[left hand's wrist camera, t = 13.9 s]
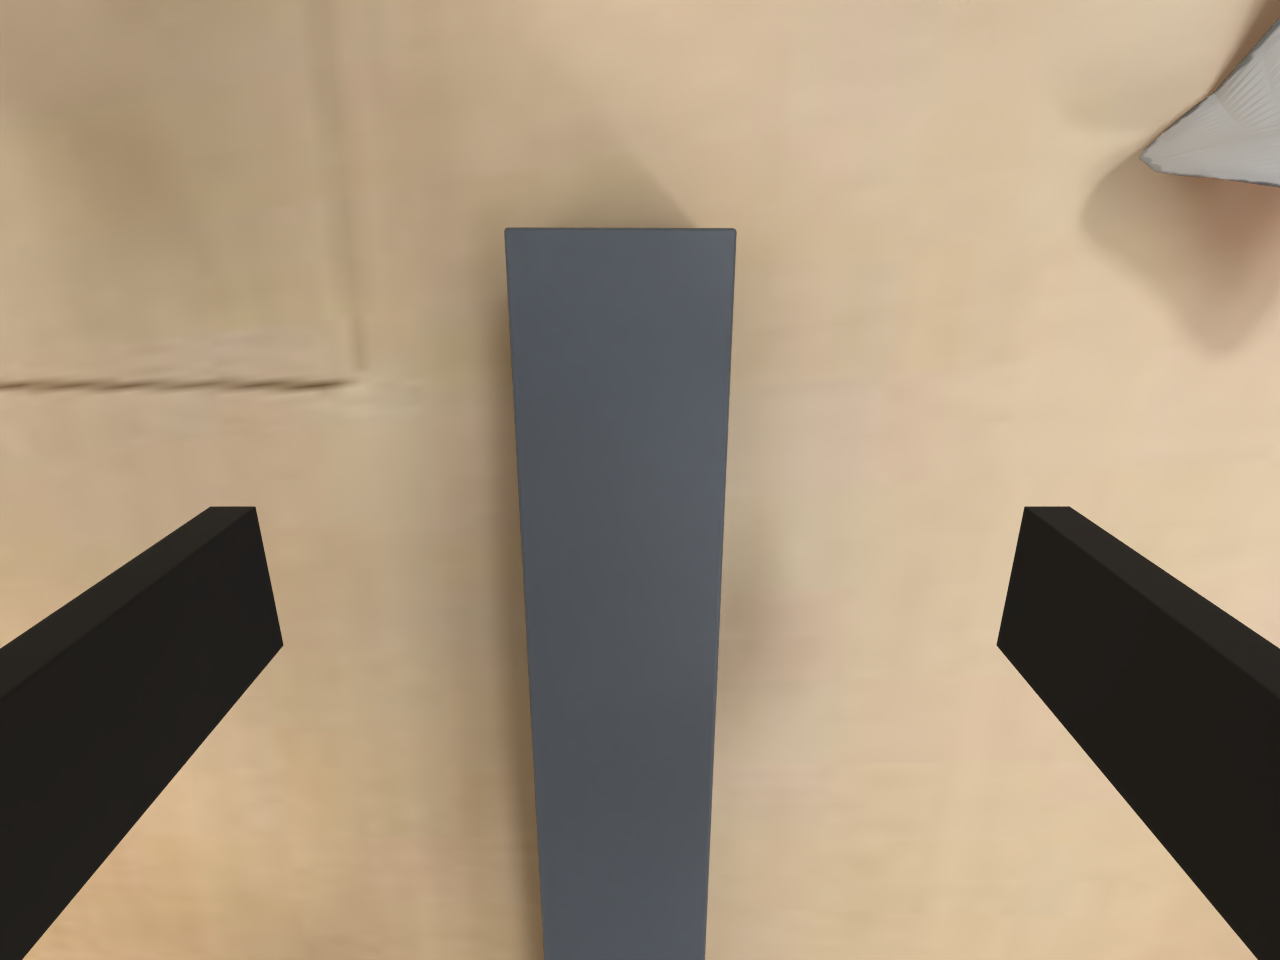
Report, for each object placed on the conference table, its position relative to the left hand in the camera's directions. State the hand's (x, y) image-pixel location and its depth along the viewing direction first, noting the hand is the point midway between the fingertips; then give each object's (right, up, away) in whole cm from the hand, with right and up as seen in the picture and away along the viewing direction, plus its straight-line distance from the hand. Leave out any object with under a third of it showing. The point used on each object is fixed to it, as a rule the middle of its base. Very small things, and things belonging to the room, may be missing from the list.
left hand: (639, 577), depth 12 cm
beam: (-1, -15, +18) cm, 24 cm away
